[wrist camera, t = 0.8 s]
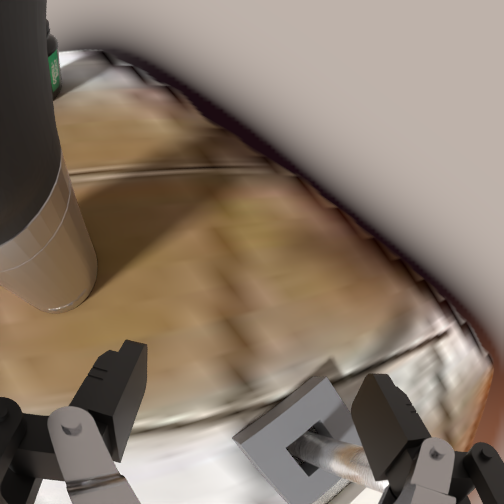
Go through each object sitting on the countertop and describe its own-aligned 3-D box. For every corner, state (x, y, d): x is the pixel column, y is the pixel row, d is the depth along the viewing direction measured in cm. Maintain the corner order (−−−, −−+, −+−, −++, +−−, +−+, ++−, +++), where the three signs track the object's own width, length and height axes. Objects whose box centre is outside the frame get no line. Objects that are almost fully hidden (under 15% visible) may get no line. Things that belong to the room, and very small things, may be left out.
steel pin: (272, 442, 28) (393, 492, 12) (306, 414, 30) (439, 434, 14) (295, 470, 28) (416, 526, 12) (327, 444, 30) (457, 473, 14)
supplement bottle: (69, 91, 35) (64, 23, 24) (29, 115, 31) (14, 48, 21) (51, 72, 35) (45, 10, 24) (14, 94, 32) (0, 32, 21)
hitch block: (231, 437, 27) (240, 444, 25) (312, 376, 32) (326, 376, 30) (287, 503, 26) (300, 513, 23) (357, 443, 31) (372, 446, 28)
